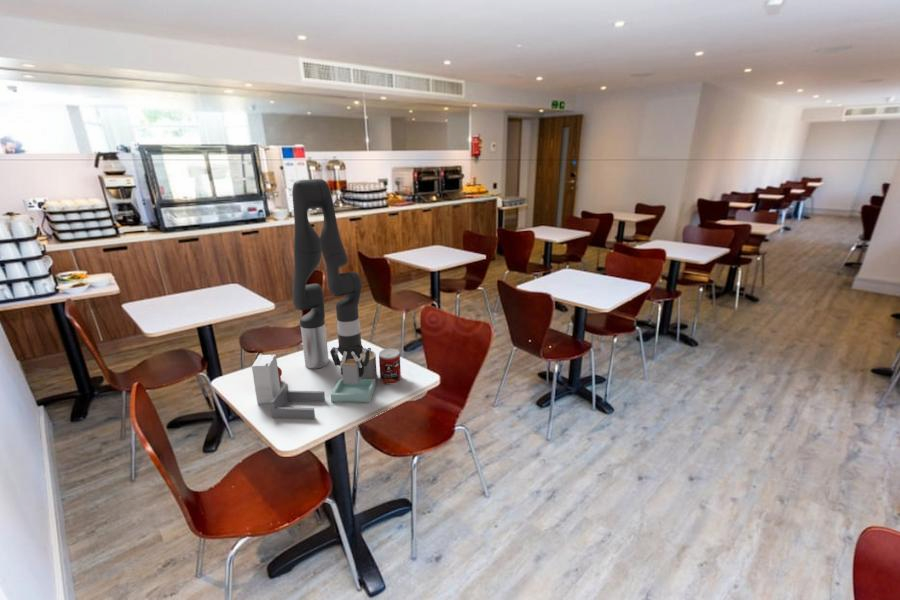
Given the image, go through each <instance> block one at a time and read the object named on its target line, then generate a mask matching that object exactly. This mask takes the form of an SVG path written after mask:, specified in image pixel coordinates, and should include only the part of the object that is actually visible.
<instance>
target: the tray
mask: <svg viewBox="0 0 900 600" xmlns="http://www.w3.org/2000/svg"><path fill="white" fill-rule="evenodd" d="M376 381H377V380H376ZM376 381H375V379H360V381H359V383H358V384H344V382H343V377H342V378H341V377H340V378H339V379H338V381H337V383H336V384H335V387H334V388H333V390H332V392H331V393H330V399H331V403H352V404H353V403H355V404H363V403H364V404H369V403H370V401H371V399H372V397H373V394H374V392H375V389H376V387H377V384H376Z"/></svg>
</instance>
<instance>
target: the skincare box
mask: <svg viewBox="0 0 900 600" xmlns="http://www.w3.org/2000/svg"><path fill="white" fill-rule="evenodd" d="M277 361H278V360H277V354H259V355H258V356H257V358H256V359H255V360H254V362H253V364H252V365H251V370H252V375H253V383H254V390H255V397H256V402H257V404H259V405H260V404H270V402H271V400H272V399H273V398H274V397H275V395H276V394H277V393H278V392H279V390H280V389H281V381H280V382H279V374H278V367H279V366H278V362H277Z"/></svg>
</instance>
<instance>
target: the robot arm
mask: <svg viewBox="0 0 900 600" xmlns="http://www.w3.org/2000/svg"><path fill="white" fill-rule="evenodd" d="M333 201H334V200H333V197H332V194H331V189H330V187H329V185H328V182H326V180H324V179H322V178H313V179H312V178H311V179H310V178H309V179H298V180H296V181H294V183H293V185H292V208H293V217H294V218H293V221H294V243H293V260H294V262H293V263H294V266H293V267H294V269H293V270H294V272H293V275H294V276H293V284H292V302H293V303H292V304H293V306H294V308H295V309H296V310H297V311H305V310H310V311H308V312H307V313H306V314H304V315H303V316H301V317H300V318H299V327H300V332H301V333H300V334H301V343H302V349H303V356H304V365H305V367H306V368H307V369H308V368H309V369H320V368H324V367H326V366H327V365H328V364H329V363H330V358H329V354H330V355H331V358H332V360H333V361H332V362H333V363H334V366H336V367H337V366H339V368H340V374H341V376H343V371H342V365H343V363H344V362H345V360H346V359H355V361H356V363H358V366H359V377H362V375H363V374H364V366H367V364H368V362H369V358H370V353H371V351H372V348H371V347H368V348H365V347H364V346H363V345H362V335H361V334H362V331H361V323H360V317H359V303H360V297H361V293H362V287H363V286H362V284H363V283H362V277H361V276H360V275H359V273H357V272H356V271H346V272H343V273H339V269H340V268H342V267H345V265H347V264H348V262H349V260H348V256H347V253H346V250H345V247H344V244H343V242H342V238H341V236H340V231H339V227H338V223H337V216H336V211H335V206H334V202H333ZM311 209H321V211H322V214H323V224H322V229H321V233H320V236H319V234H318V232H317V231H316V230H315V229H314V227H313V226H312V224H311V223H310V221H309V218H308V212H309V210H311ZM322 256H323V259H324V262H325V265H326V276H327V286H328V287H327V288H328V291H329V292H330V293H331V295H333V296H334V297H338V298H339V297H343V296H345V297H344V298H343V299H341V300H339V301H338V302H337V303H336V304H335V310H336V311H335V312H336V332H337V340H338V341H337V342H338V346H337V347H332V348H331V349H330V351H329V349H328V339H327V330H326V313H325V294H324V290H323V287H322V286H321V284H320V283H309V284H307V282H308V280H309V278H310V277H311V276H312V274H313V273H314V272H315V270H316V269H317V267H318V265H320V262H321V259H322ZM362 351H363V352H364V355H365V360H364V361H363V360H362V357H361V355H360V354H361V352H362ZM339 353H340V355H341V360H340V357H339Z"/></svg>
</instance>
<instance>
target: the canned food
mask: <svg viewBox="0 0 900 600" xmlns="http://www.w3.org/2000/svg"><path fill="white" fill-rule="evenodd" d="M400 355H401V354H400V351H399V350H398V349H397V348H385V349H382V350H380V351H379V353H378V359H379V360H378V361H379V362H378V363H379V377H380V381H381V382H382V383H383V384H385V385H393V384H396V383H398V382H399V381H400V380H401V376H402V375H401V374H402V372H401V356H400Z"/></svg>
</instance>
